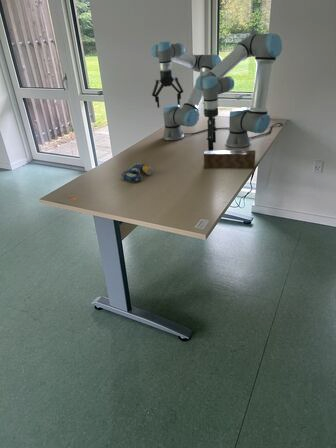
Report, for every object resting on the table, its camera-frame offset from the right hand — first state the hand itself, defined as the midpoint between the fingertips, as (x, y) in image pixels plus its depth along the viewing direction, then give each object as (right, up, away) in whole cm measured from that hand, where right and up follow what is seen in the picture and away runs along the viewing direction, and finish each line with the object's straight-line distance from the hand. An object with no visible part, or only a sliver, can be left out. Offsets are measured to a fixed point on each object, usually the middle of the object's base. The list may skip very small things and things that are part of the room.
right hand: (212, 146), depth 190 cm
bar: (+10, -11, +4) cm, 15 cm away
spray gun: (-42, -16, +3) cm, 45 cm away
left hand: (-25, +32, +26) cm, 49 cm away
